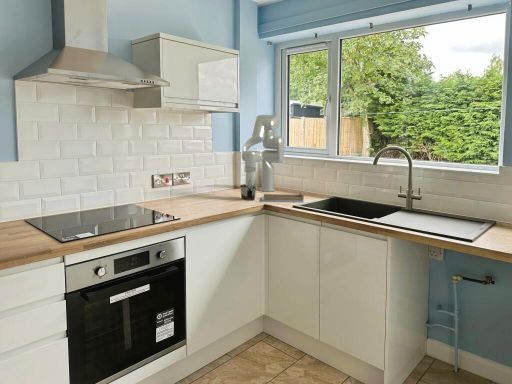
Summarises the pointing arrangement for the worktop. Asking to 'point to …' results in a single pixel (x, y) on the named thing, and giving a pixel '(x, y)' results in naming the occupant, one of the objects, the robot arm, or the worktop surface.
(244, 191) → the food container
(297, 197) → the keyway board
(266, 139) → the robot arm
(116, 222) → the worktop surface
